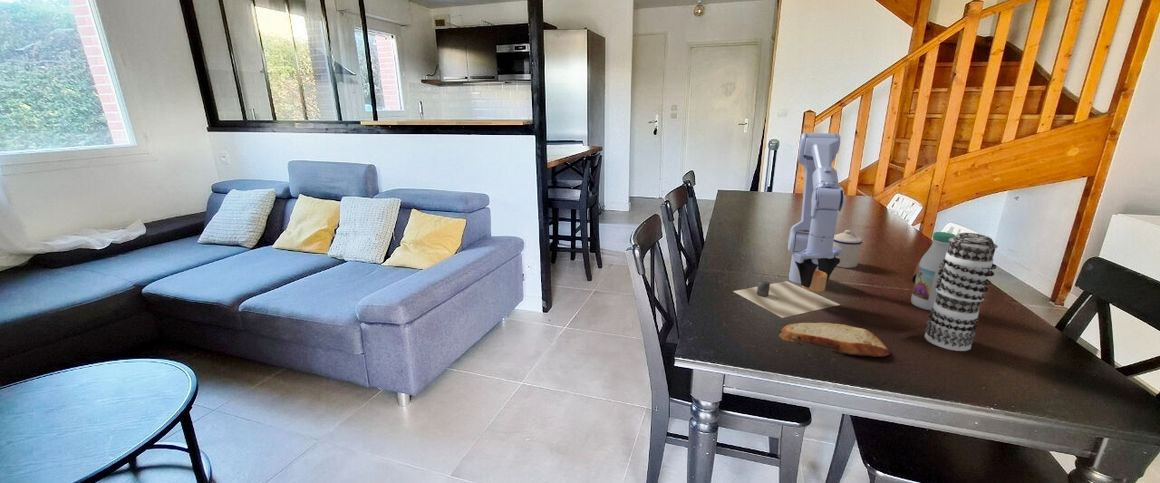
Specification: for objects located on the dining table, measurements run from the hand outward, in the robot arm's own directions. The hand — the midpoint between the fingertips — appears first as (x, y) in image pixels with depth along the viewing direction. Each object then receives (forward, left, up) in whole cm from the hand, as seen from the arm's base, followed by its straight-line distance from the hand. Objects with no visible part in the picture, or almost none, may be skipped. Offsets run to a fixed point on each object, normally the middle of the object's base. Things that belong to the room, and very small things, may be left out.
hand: (813, 284), depth 120 cm
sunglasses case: (-52, -1, -7) cm, 52 cm away
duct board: (+4, -5, -6) cm, 9 cm away
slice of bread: (+12, +16, -7) cm, 21 cm away
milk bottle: (-29, +12, -6) cm, 32 cm away
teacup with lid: (-36, -21, -6) cm, 42 cm away
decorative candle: (-13, +26, -6) cm, 30 cm away
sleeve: (0, 0, -1) cm, 1 cm away
